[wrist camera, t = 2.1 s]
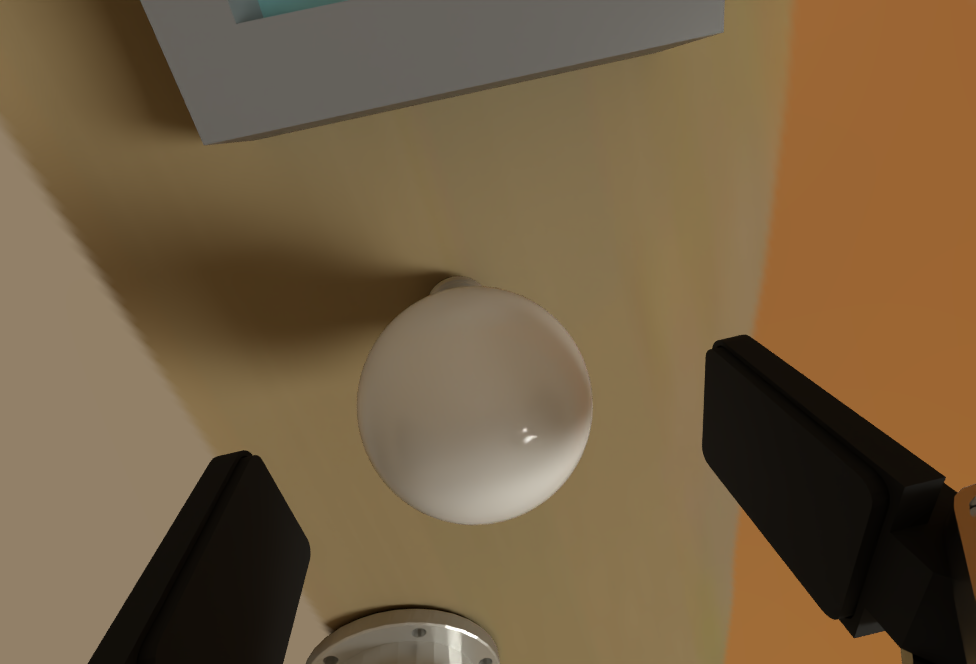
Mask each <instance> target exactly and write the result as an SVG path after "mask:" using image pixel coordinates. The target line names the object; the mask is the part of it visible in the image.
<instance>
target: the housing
mask: <svg viewBox="0 0 976 664" xmlns="http://www.w3.org/2000/svg"><path fill="white" fill-rule="evenodd" d="M140 1H141V3H142V6H143V8H144V10H145V13H146V15H147V17H148V19H149V22H150V24H151V26H152V28H153V31H154V33H155V35H156V38H157V40H158V42H159V44H160V47H161V49H162V51H163V53H164V56H165V58H166V60H167V62H168V65H169V67H170V69H171V72H172V74H173V76H174V78H175V81H176V83H177V85H178V87H179V90H180V92H181V94H182V97H183V99H184V101H185V103H186V106H187V108H188V110H189V112H190V115H191V117H192V119H193V122H194V124H195V126H196V128H197V131H198V133H199V135H200V137H201V140H202V142H203V144H204V145H212V144H222V143H232V142H242V141H253V140H258V139H262V138H267V137H271V136H276V135H281V134H285V133H290V132H294V131H299V130H304V129H308V128H313V127H317V126H322V125H326V124H331V123H336V122H340V121H345V120H349V119H354V118H358V117H363V116H368V115H372V114H377V113H381V112H386V111H391V110H395V109H400V108H404V107H409V106H413V105H418V104H423V103H427V102H432V101H436V100H441V99H446V98H450V97H455V96H459V95H464V94H468V93H473V92H478V91H482V90H487V89H491V88H496V87H501V86H505V85H510V84H514V83H519V82H523V81H528V80H533V79H537V78H542V77H546V76H551V75H556V74H560V73H565V72H569V71H574V70H578V69H583V68H588V67H592V66H597V65H601V64H606V63H611V62H615V61H620V60H624V59H629V58H633V57H638V56H643V55H647V54H652V53H656V52H660V51H664V50H667V49H670V48H673V47H677V46H680V45H683V44H686V43H690V42H693V41H696V40H700V39H703V38H706V37H709V36H713V35H716V34H719V33H722V32H724V1H725V0H140Z"/></svg>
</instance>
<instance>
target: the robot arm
mask: <svg viewBox="0 0 976 664" xmlns="http://www.w3.org/2000/svg"><path fill="white" fill-rule="evenodd" d="M702 450H703V454H704V457H705V460H706V462H707V463H708V465H709V466H710V467H711V469H712V470H713V471H714V473H715V474H716V475H717V476H718V478H719V479H720V480H721V482H722V483H723V484H724V485H725V487H726V488H727V489H728V491H729V492H730V493H731V494H732V496H733V497H734V498H735V499H736V501H737V502H738V503H739V505H740V506H741V507H742V508H743V510H744V511H745V512H746V514H747V515H748V516H749V517H750V519H751V520H752V521H753V522H754V524H755V525H756V526H757V528H758V529H759V530H760V531H761V533H762V534H763V535H764V537H765V538H766V539H767V540H768V542H769V543H770V544H771V546H772V547H773V548H774V549H775V551H776V552H777V553H778V555H779V556H780V557H781V558H782V560H783V561H784V562H785V563H786V565H787V566H788V567H789V569H790V570H791V571H792V572H793V574H794V575H795V576H796V578H797V579H798V580H799V581H800V582H801V584H802V585H803V586H804V588H805V589H806V590H807V592H808V593H809V594H810V596H811V597H812V598H813V599H814V600H815V602H816V603H817V604H818V606H819V607H820V608H821V609H822V611H823V612H824V613H825V614H826V615H828V616H829V617H830V618H832V619H834V620H836V619H839V620H840V621H841V623H842V624H843V625H844V626H845V628H846V629H847V630H848V631H849V633H850V634H851V635H852V636H853V638H857V637H861V636H865V635H870V634H874V633H878V632H882V631H886V632H887V633H888V634H889V636H890V637H891V638H892V639H893V640H894V641H895V642H896V644H897V645H899V647H900V648H901V657H902V664H976V484H973V485H970V486H968V487H965V488H962V489H961V490H960V491H959V492H958V493H957V492H956V491H954V490H953V489H952V488H950V487H949V486H947V485H946V484H945V483H944V481H945V478H946V477H945V476H943V475H942V474H941V473H939V472H938V471H936V470H935V469H934V468H932V467H931V466H929V465H928V464H927V463H925V462H924V461H922V460H921V459H920V458H918V457H917V456H916V455H914V454H913V453H911V452H910V451H909V450H907V449H906V448H904V447H903V446H902V445H900V444H899V443H898V442H896V441H895V440H893V439H892V438H891V437H889V436H888V435H886V434H885V433H884V432H882V431H881V430H879V429H878V428H876V427H875V426H874V425H872V424H871V423H870V422H868V421H867V420H865V419H864V418H863V417H861V416H859V415H858V414H857V413H856V412H854V411H853V410H852V409H850V408H849V407H847V406H846V405H844V404H843V403H842V402H840V401H839V400H837V399H836V398H835V397H833V396H832V395H831V394H829V393H828V392H826V391H825V390H824V389H822V388H821V387H819V386H818V385H817V384H815V383H814V382H813V381H811V380H810V379H808V378H807V377H806V376H804V375H803V374H801V373H800V372H799V371H797V370H796V369H794V368H793V367H792V366H790V365H789V364H787V363H786V362H785V361H783V360H782V359H780V358H779V357H778V356H776V355H775V354H774V353H772V352H771V351H769V350H768V349H767V348H765V347H764V346H762V345H761V344H760V343H758V342H757V341H755V340H754V339H753V338H751V337H750V336H748V335H739V336H735V337H731V338H726V339H722V340H718V341H716V342H715V343H714V345H713V348H712V349H710V350H708V351H707V353H706V363H705V388H704V413H703V438H702ZM309 561H310V545H309V542H308V539H307V538H306V536H305V534H304V532H303V531H302V529H301V527H300V525H299V524H298V522H297V520H296V518H295V517H294V515H293V513H292V511H291V510H290V508H289V506H288V504H287V503H286V501H285V499H284V497H283V496H282V494H281V492H280V490H279V489H278V487H277V485H276V483H275V482H274V480H273V478H272V476H271V475H270V473H269V471H268V469H267V468H266V466H265V464H264V462H263V461H262V459H261V458H260V457H259V456H257V455H253V456H252V454H251V453H250V452H248V451H244V450H243V451H239V452H234V453H230V454H226V455H221V456H217V457H215V458H213V459H212V460H211V462H210V463H209V465H208V466H207V468H206V470H205V471H204V473H203V475H202V477H201V478H200V480H199V481H198V483H197V485H196V486H195V488H194V489H193V491H192V493H191V494H190V496H189V498H188V499H187V501H186V503H185V504H184V506H183V508H182V509H181V511H180V512H179V514H178V516H177V517H176V519H175V521H174V522H173V524H172V526H171V527H170V529H169V531H168V532H167V534H166V536H165V537H164V539H163V541H162V542H161V544H160V546H159V547H158V549H157V551H156V552H155V554H154V556H153V557H152V559H151V560H150V562H149V564H148V565H147V567H146V568H145V570H144V572H143V574H142V575H141V577H140V578H139V580H138V582H137V583H136V585H135V587H134V588H133V590H132V592H131V593H130V595H129V597H128V599H127V600H126V601H125V603H124V605H123V606H122V608H121V610H120V611H119V613H118V615H117V616H116V618H115V620H114V621H113V623H112V624H111V626H110V628H109V629H108V631H107V633H106V635H105V636H104V638H103V640H102V641H101V643H100V644H99V646H98V648H97V649H96V651H95V652H94V654H93V656H92V658H91V659H90V661H89V662H88V664H283V661H284V658H285V653H286V650H287V646H288V641H289V638H290V634H291V630H292V627H293V623H294V619H295V615H296V610H297V607H298V603H299V599H300V596H301V592H302V588H303V584H304V580H305V576H306V572H307V568H308V565H309ZM306 664H500V660H499V654H498V650H497V646H496V644H495V642H494V641H493V639H492V637H491V636H490V635H489V634H488V633H487V632H486V631H485V630H484V629H483V628H482V627H480V626H479V625H477V624H475V623H474V622H472V621H470V620H469V619H466V618H464V617H461V616H458V615H456V614H453V613H448V612H443V611H439V610H431V609H399V610H392V611H386V612H381V613H376V614H373V615H370V616H367V617H363V618H360V619H357V620H355V621H353V622H351V623H349V624H347V625H345V626H342V627H341V628H339V629H338V630H336V631H335V632H333V633H332V634H330V635H329V636H327V637H326V638H325V639H324V640H323V641H322V642H321V643H320V644H319V645H318V646H317V647H316V648H315V649H314V650H313V652H312V653H311V655H310V656H309V658H308V660H307V662H306Z"/></svg>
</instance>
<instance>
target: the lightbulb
mask: <svg viewBox="0 0 976 664" xmlns="http://www.w3.org/2000/svg"><path fill="white" fill-rule="evenodd" d="M592 415H593V396H592V388H591V382H590V377H589V373H588V370H587V367H586V364H585V361H584V359H583V356H582V354H581V352H580V350H579V348H578V346H577V345H576V343H575V341H574V340H573V338H572V337H571V335H570V334H569V333H568V331H567V330H566V329H565V328H564V326H563V325H562V324H561V323H560V322H559V321H558V320H557V319H556V318H555V317H554V316H553V315H552V314H550V313H549V312H548V311H547V310H545V309H544V308H543V307H541V306H540V305H538V304H537V303H535V302H533V301H532V300H530V299H528V298H526V297H524V296H521V295H519V294H516V293H514V292H511V291H507V290H504V289H499V288H494V287H486V286H482V285H481V284H480V283H478V282H477V281H475V280H473V279H471V278H468V277H463V276H455V277H450V278H447V279H445V280H443V281H441V282H439V283H438V284H437V285H436V286H435V287H434V288H433V289H432V290H431V292H430V294H429V296H427V297H425V298H423V299H421V300H419V301H417V302H415V303H414V304H412V305H411V306H409V307H408V308H406V309H405V310H404V311H402V312H401V313H400V314H399V315H398V316H396V317H395V318H394V319H393V320H392V321H391V322H390V323H389V324H388V325H387V327H386V328H385V329H384V330H383V331H382V333H381V334H380V335H379V337H378V338H377V340H376V341H375V343H374V345H373V346H372V348H371V350H370V352H369V354H368V356H367V358H366V361H365V363H364V366H363V369H362V372H361V376H360V380H359V385H358V392H357V420H358V427H359V432H360V436H361V440H362V443H363V446H364V449H365V451H366V454H367V456H368V458H369V460H370V462H371V464H372V466H373V467H374V469H375V471H376V472H377V474H378V475H379V476H380V478H381V479H382V480H383V482H384V483H385V484H386V485H387V486H388V488H389V489H390V490H391V491H392V492H393V493H394V494H395V495H397V496H398V497H399V498H400V499H401V500H403V501H404V502H405V503H407V504H408V505H410V506H411V507H413V508H414V509H416V510H418V511H420V512H422V513H423V514H426V515H428V516H430V517H433V518H436V519H439V520H442V521H446V522H450V523H455V524H462V525H486V524H494V523H499V522H503V521H507V520H510V519H513V518H516V517H518V516H521V515H523V514H525V513H527V512H529V511H531V510H533V509H534V508H536V507H538V506H539V505H541V504H542V503H544V502H545V501H546V500H547V499H549V498H550V497H551V496H552V495H553V494H554V493H555V492H557V491H558V490H559V489H560V487H561V486H562V485H563V484H564V483H565V482H566V481H567V479H568V478H569V477H570V475H571V474H572V472H573V471H574V469H575V468H576V466H577V464H578V462H579V460H580V458H581V456H582V454H583V452H584V449H585V447H586V444H587V441H588V438H589V434H590V429H591V424H592Z"/></svg>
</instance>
